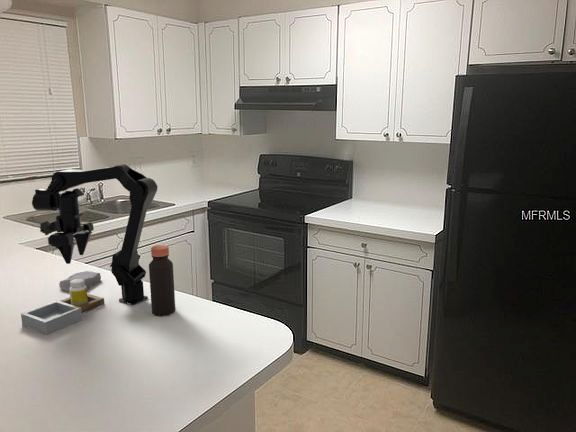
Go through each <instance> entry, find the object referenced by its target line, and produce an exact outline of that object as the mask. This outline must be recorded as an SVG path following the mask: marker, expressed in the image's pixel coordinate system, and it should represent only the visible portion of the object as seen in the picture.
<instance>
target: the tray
mask: <svg viewBox="0 0 576 432" xmlns="http://www.w3.org/2000/svg"><path fill="white" fill-rule="evenodd" d="M20 317H21V318H20V319H21V326H23V327H25V328H28V329H31V330H33V331H37V332H39V333H42V334H44V335H49V334H51V333H53V332H57V331H59V330H61V329H63V328H65V327H68V326H70V325H72V324H75V323H77V322H79V321H81V320H83V313H82V311H81V308H80V307H77V306H73V305H70V304H67V303H64V302H61V301H60V300H55V301H51V302H49V303H46V304H44V305H41V306H37V307H35V308H33V309H30V310H28V311H24V312H22V313H20Z"/></svg>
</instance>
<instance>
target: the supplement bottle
mask: <svg viewBox="0 0 576 432" xmlns="http://www.w3.org/2000/svg"><path fill="white" fill-rule="evenodd" d="M70 286H71V287H70V291H69V297H70V299H71V305H73V306H77V307H78V306H80V305H83V304H85V303H88V298H87V294H88V291H87V290H88V288H86V286H85V281H84V279H74V280H71V281H70Z"/></svg>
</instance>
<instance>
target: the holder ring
mask: <svg viewBox="0 0 576 432" xmlns="http://www.w3.org/2000/svg"><path fill="white" fill-rule="evenodd" d="M87 298H88V303H85V304H83V305H80V306H78V307H80V308H81V311H82V314H85V313H86V312H89V311H92V310H95V309H96V308H99V307H102V306H104V305H105V298H104V297H100V296H97V295H93V294H90V293H87ZM59 301H61V302H64V303H67V304H70V305H71V299H70V296H69V297H67V298H64V299H60V300H59Z"/></svg>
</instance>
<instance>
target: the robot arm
mask: <svg viewBox="0 0 576 432" xmlns="http://www.w3.org/2000/svg"><path fill="white" fill-rule="evenodd" d="M109 180H117V181H118V182H119V183H120V184H121V185H122V187H123V188H124V189H125V190H126V191H128V192H129V195H128V196H129V203H130V206H131V207H130V211H129V216H128V220H127V224H126V229H125V233H124V237H123V242H122V246H121V249H120V250H119V251H117V252H115V253H113V254H112V256H111V257H112V258H111V264H110V265H109V268H111V271H110V272H111V274H112V275H113V276H114V278H115V280H116V282H117V285H118V286H120V288H121V298H119V299H118V301H119V302H120V303H121V302H122V303H125V304H128V305H135V304H139V303H140V302H143V301H145V300H147V299H149V296H147V295H145V292H144V291H145V290H144V281H143V279H144V278H146V274H147V271H146V269H144V268H143V267H142V266H141V265H140V263H139V261H140V257H139V253H138V247H139V244H140V239H141V236H142V232H143V227H144V224H145V220H146V219H145V218H146V215H147V210H148V208H149V206H150V205H151V203H152V202H153V200H154V198H155V196H156V194H157V192H158V184H157V183H156V181H155V179H152V178H150V177H147V176H145V175H144V174H142V173H140V172H138V171H137V170H134V169H132V168H131V167H130V166H129V165H126V164H123V163H122V164H117V165H114V166H108V167H100V168H95V169H93V168H92V169H88V170H85V169H84V170H83V169H75V168H73V169H72V168H71V169H64V170H59V171H55V172H54V173H53V174H52V176H51V181H50V183H49V184H48V186H47V188H46V189H45V188H35V189H34V191H35V193H34V195H33V197H32V199H31V205H32V208H33V209H34V211H37V212H40V211H45V212H46V211H49V212H55V211H57V210H58V215H56V217H55V220H53V221H50V222H49V221H48V220H46V221H43V222H41V223H40V227H39V228H40V229H39V232H40V233H41V234H42V233H43V234H44V236H48V237H47V244H48V245H50V246H51V247H55V248H56V249H58V251H59V253H60V255H61V256H62V259H63V260H64V262H65V263H66V265H70V264H71V262H72V257H73V254H74V253H73V252H74V248H75V243H76V247H77V251H78V254H79V256H84V254H85V251H86V248H87V246H88V242H89V240H90V237H91V235H92V233H93V231H94V228H95V227H94V223H92V222H91V221H82V220H81V217H83V212H82V211H80V205H79V204H80V203H79V197H82V196H85V193H84V192H83V191H81V190H80V189H79V188H78V186H82V185H85V184H88V183H95V182H101V181H109ZM76 187H77V188H76ZM69 189H73V190H69ZM61 192H62V193H61ZM54 232H55V233H54ZM52 233H53V234H52ZM50 234H51V235H50ZM74 239H75V241H74Z"/></svg>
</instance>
